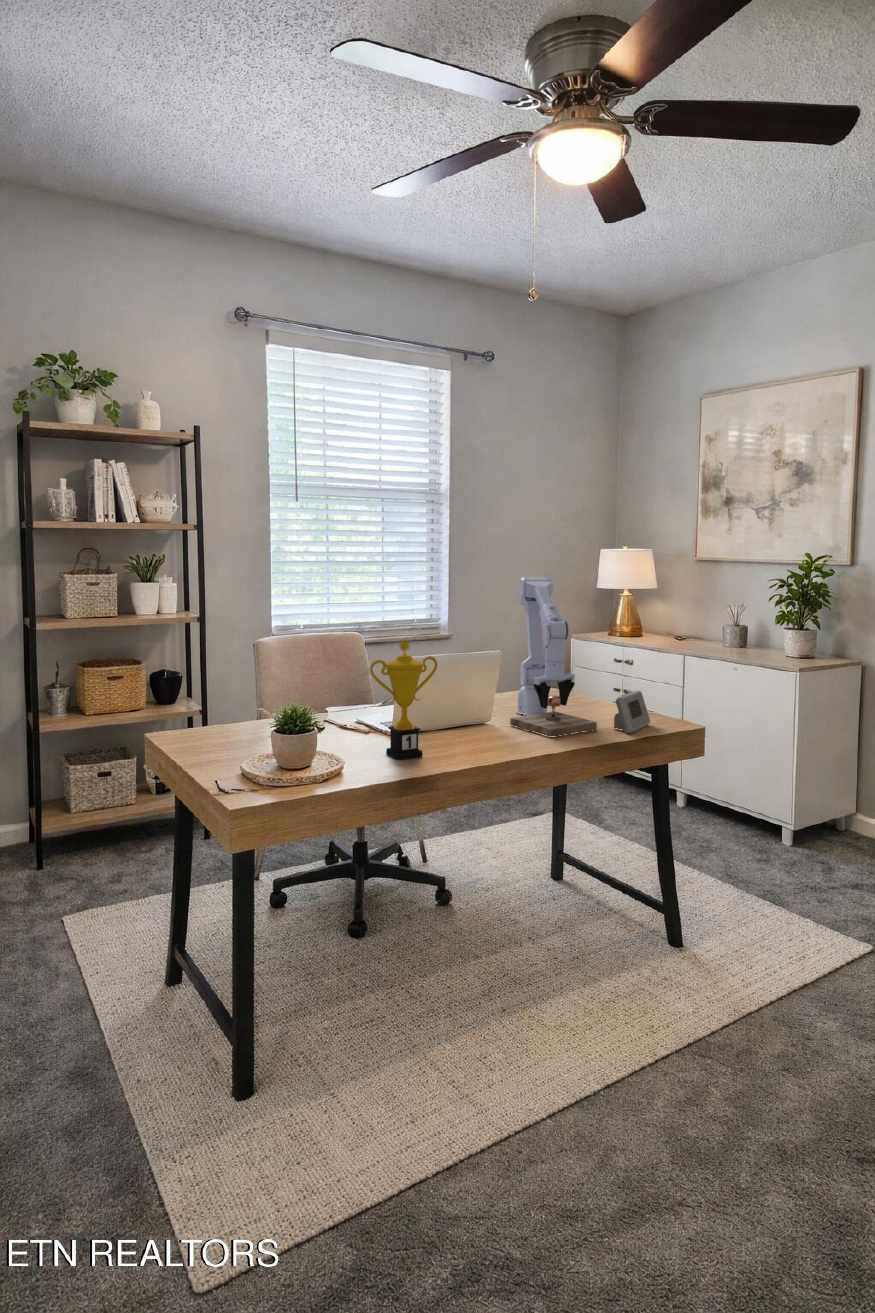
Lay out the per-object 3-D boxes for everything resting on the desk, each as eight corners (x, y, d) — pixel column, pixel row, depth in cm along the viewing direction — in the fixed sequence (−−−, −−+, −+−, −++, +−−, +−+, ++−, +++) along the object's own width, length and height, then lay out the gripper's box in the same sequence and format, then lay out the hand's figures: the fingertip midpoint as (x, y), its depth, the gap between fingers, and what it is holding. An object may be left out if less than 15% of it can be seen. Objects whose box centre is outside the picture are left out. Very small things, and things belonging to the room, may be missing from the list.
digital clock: (629, 735, 232) (630, 699, 230) (603, 730, 238) (604, 694, 237) (659, 727, 243) (661, 692, 241) (633, 722, 249) (635, 688, 248)
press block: (510, 726, 242) (510, 714, 242) (554, 719, 252) (555, 708, 252) (550, 738, 227) (551, 726, 227) (596, 730, 237) (596, 718, 237)
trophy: (378, 764, 198) (378, 644, 194) (362, 755, 207) (361, 639, 202) (445, 755, 208) (447, 640, 204) (427, 747, 216) (428, 636, 212)
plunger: (543, 715, 240) (544, 696, 239) (553, 714, 242) (554, 695, 241) (552, 718, 236) (553, 698, 236) (562, 716, 239) (563, 697, 238)
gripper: (545, 664, 230) (544, 711, 231) (582, 661, 238) (580, 706, 239) (529, 661, 235) (528, 707, 237) (565, 658, 243) (564, 702, 245)
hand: (553, 706), depth 239 cm, fingers open, 7 cm apart
